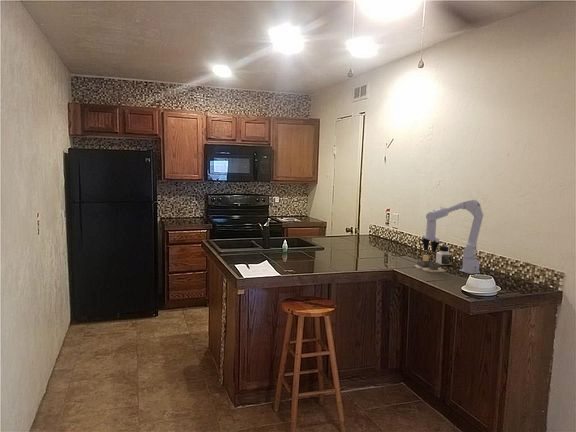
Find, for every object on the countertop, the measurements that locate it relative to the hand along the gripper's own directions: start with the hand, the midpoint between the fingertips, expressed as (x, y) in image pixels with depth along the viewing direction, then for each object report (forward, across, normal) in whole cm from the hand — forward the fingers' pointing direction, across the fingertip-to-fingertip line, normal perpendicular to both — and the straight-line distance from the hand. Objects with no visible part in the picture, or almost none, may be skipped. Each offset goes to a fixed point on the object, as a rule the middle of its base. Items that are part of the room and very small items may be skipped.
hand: (429, 251), depth 286 cm
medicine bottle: (+10, -3, +14) cm, 17 cm away
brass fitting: (+8, +4, -6) cm, 11 cm away
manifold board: (+9, +8, -6) cm, 14 cm away
